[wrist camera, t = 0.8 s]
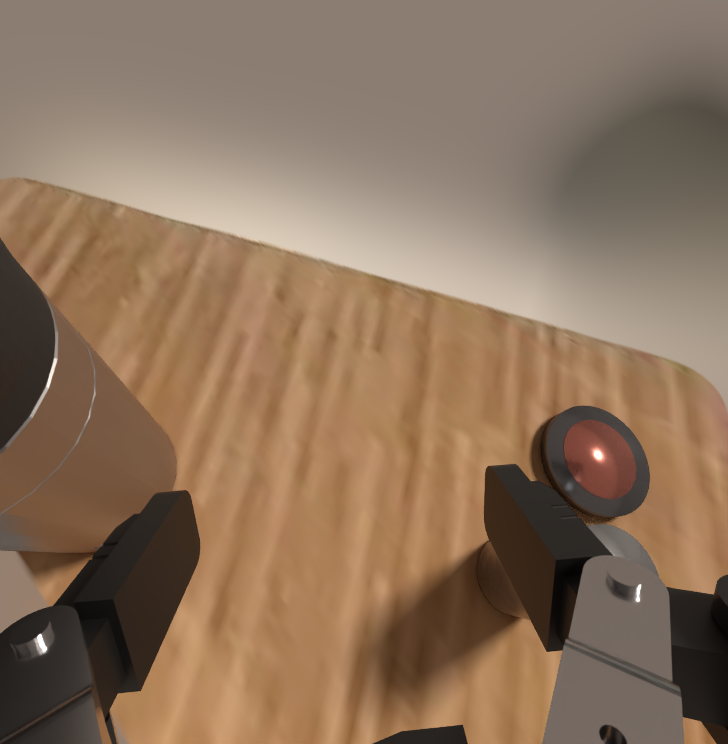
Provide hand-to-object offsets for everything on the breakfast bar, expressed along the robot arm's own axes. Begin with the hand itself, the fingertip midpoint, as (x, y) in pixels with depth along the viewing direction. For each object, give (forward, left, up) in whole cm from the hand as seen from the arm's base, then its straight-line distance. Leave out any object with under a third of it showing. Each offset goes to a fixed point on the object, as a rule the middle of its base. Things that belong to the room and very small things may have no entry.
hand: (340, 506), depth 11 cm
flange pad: (+12, +21, -18) cm, 30 cm away
